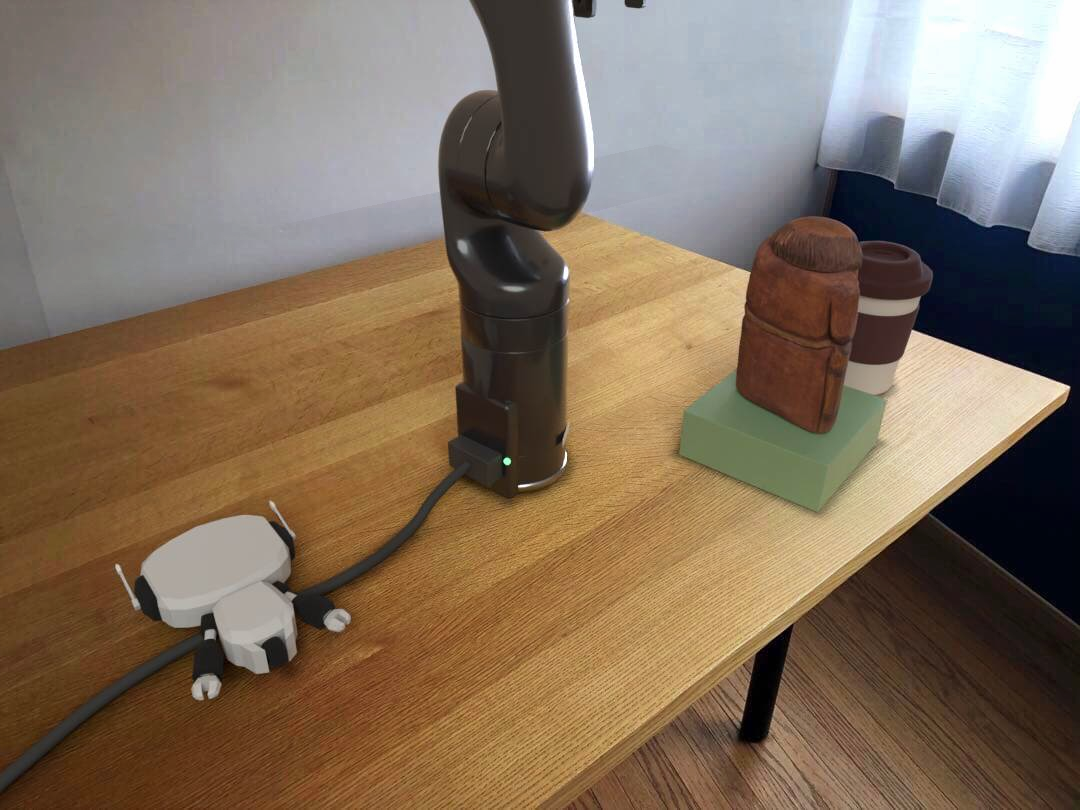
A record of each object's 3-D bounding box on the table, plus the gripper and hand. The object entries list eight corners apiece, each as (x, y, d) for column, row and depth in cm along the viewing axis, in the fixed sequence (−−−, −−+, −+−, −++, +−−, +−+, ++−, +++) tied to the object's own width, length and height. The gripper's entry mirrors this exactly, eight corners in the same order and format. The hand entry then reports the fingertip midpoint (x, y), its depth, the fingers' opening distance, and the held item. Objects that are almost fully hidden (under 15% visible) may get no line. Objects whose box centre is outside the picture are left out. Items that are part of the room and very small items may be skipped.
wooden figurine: (861, 419, 78) (906, 230, 69) (818, 443, 75) (858, 248, 66) (760, 369, 86) (787, 193, 77) (716, 389, 83) (739, 207, 74)
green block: (817, 512, 75) (828, 466, 72) (678, 454, 82) (683, 410, 80) (876, 443, 84) (887, 399, 81) (746, 396, 92) (753, 355, 89)
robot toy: (365, 646, 63) (274, 531, 72) (361, 603, 60) (267, 489, 69) (198, 736, 56) (122, 596, 65) (186, 693, 53) (108, 553, 63)
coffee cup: (870, 414, 89) (902, 279, 81) (790, 377, 95) (813, 249, 87) (921, 384, 94) (956, 254, 86) (842, 351, 100) (868, 227, 93)
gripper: (629, -188, 80) (620, 2, 89) (532, -198, 71) (532, 16, 79) (699, -192, 76) (683, 8, 85) (607, -202, 67) (599, 24, 75)
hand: (610, 12), depth 82 cm, fingers open, 8 cm apart
